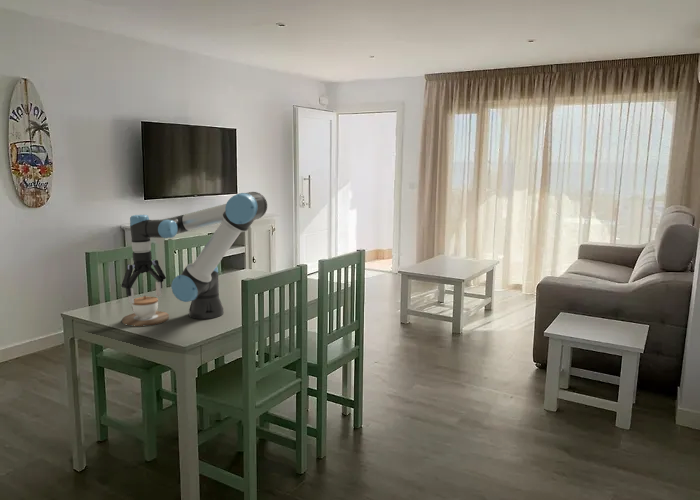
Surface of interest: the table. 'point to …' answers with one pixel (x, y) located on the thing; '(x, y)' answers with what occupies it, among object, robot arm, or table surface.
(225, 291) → the table surface
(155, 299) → the lidded jar
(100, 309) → the table surface
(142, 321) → the plate
